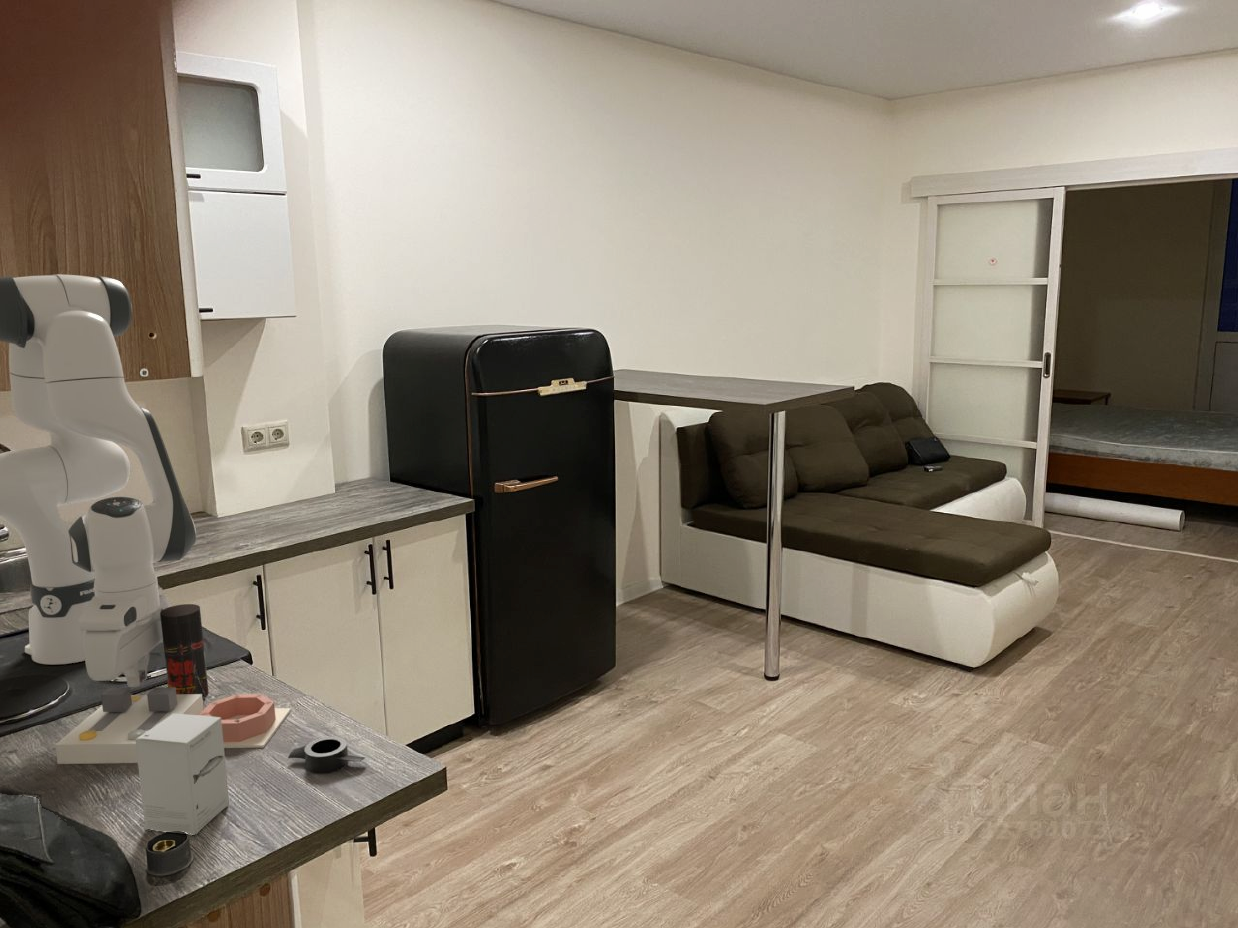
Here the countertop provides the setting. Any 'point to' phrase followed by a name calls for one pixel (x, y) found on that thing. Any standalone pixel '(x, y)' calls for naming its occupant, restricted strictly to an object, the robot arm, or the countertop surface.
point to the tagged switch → (116, 700)
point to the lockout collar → (247, 719)
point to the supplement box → (182, 773)
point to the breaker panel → (118, 731)
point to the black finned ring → (325, 755)
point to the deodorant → (184, 649)
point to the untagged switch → (162, 699)
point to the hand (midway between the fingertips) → (137, 683)
